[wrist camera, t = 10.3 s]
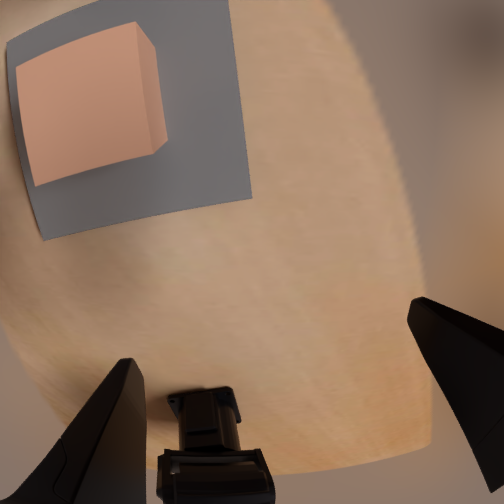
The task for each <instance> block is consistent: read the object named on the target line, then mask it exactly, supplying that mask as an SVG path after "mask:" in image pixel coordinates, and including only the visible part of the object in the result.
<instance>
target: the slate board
mask: <svg viewBox="0 0 504 504" xmlns="http://www.w3.org/2000/svg"><path fill="white" fill-rule="evenodd" d="M135 21H136V23H137V24H138V25H139V27H140V28H141V29H142V31H143V32H144V33H145V35H146V36H147V37H148V39H149V40H150V41H151V43H152V44H153V45H154V47H155V51H156V59H157V68H158V76H159V84H160V91H161V98H162V105H163V112H164V119H165V125H166V131H167V138H168V140H167V141H166V142H165V143H164V144H163V145H162V146H161V147H160V148H159V149H158V150H157V151H156V152H155V153H154V154H151V155H146V156H141V157H137V158H133V159H129V160H124V161H120V162H116V163H112V164H108V165H105V166H101V167H97V168H94V169H90V170H86V171H83V172H80V173H76V174H73V175H69V176H66V177H63V178H60V179H57V180H54V181H50V182H47V183H44V184H41V185H39V186H36V187H35V184H34V180H33V176H32V172H31V167H30V163H29V159H28V154H27V149H26V144H25V139H24V133H23V127H22V121H21V114H20V107H19V98H18V89H17V77H16V67H17V66H19V65H21V64H23V63H25V62H27V61H29V60H31V59H33V58H35V57H37V56H39V55H42V54H44V53H46V52H48V51H50V50H53V49H55V48H57V47H60V46H62V45H65V44H67V43H70V42H72V41H75V40H77V39H80V38H83V37H86V36H88V35H91V34H94V33H97V32H100V31H103V30H107V29H110V28H113V27H117V26H120V25H124V24H127V23H131V22H135ZM7 70H8V84H9V95H10V104H11V112H12V119H13V125H14V131H15V137H16V142H17V147H18V152H19V157H20V162H21V166H22V170H23V174H24V178H25V182H26V186H27V190H28V193H29V197H30V200H31V204H32V207H33V210H34V214H35V217H36V220H37V223H38V226H39V229H40V232H41V235H42V237H43V240H44V241H46V240H50V239H54V238H58V237H62V236H66V235H70V234H74V233H78V232H82V231H87V230H91V229H95V228H100V227H104V226H108V225H113V224H118V223H122V222H127V221H132V220H136V219H141V218H146V217H151V216H156V215H161V214H166V213H171V212H177V211H182V210H187V209H193V208H198V207H204V206H210V205H216V204H221V203H227V202H233V201H240V200H246V199H252V191H251V183H250V174H249V166H248V157H247V149H246V141H245V132H244V124H243V116H242V108H241V100H240V91H239V83H238V75H237V67H236V59H235V51H234V43H233V35H232V28H231V20H230V12H229V4H228V0H99V1H96V2H93V3H90V4H88V5H85V6H82V7H79V8H77V9H74V10H72V11H69V12H67V13H64V14H62V15H60V16H57V17H55V18H53V19H51V20H49V21H46V22H44V23H42V24H40V25H38V26H36V27H34V28H32V29H30V30H28V31H26V32H24V33H23V34H21V35H19V36H17V37H15V38H13V39H12V40H10V41H8V42H7Z"/></svg>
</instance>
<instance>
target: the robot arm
mask: <svg viewBox="0 0 504 504" xmlns="http://www.w3.org/2000/svg"><path fill="white" fill-rule="evenodd" d="M407 322H408V326H409V328H410V330H411V332H412V334H413V336H414V338H415V340H416V342H417V345H418V347H419V349H420V351H421V353H422V355H423V357H424V359H425V361H426V363H427V365H428V367H429V368H430V370H431V372H432V374H433V375H434V377H435V379H436V381H437V382H438V384H439V386H440V388H441V390H442V391H443V393H444V395H445V397H446V399H447V401H448V403H449V405H450V406H451V408H452V410H453V412H454V414H455V416H456V418H457V420H458V422H459V424H460V426H461V428H462V430H463V432H464V434H465V436H466V438H467V440H468V443H469V445H470V447H471V449H472V451H473V454H474V456H475V458H476V460H477V462H478V465H479V467H480V469H481V472H482V474H483V476H484V479H485V481H486V484H487V486H488V489H489V491H490V492H491V493H493V492H494V491H496V490H497V489H498V488H500V487H501V486H503V485H504V331H503V330H501V329H499V328H496V327H494V326H492V325H489V324H487V323H485V322H482V321H480V320H478V319H476V318H473V317H471V316H469V315H466V314H464V313H461V312H459V311H457V310H454V309H452V308H450V307H447V306H445V305H442V304H440V303H437V302H435V301H433V300H430V299H428V298H425V297H418V298H415V299H413V300H412V301H411V304H410V308H409V313H408V317H407ZM167 402H168V404H169V405H170V407H171V409H172V411H173V412H174V414H175V416H176V417H177V419H178V421H179V450H170V449H164V454H163V455H160V456H158V472H157V489H156V494H157V496H158V497H159V498H160V499H161V500H162V501H163V504H275V486H274V482H273V479H272V476H271V474H270V472H269V469H268V467H267V464H266V462H265V459H264V457H263V454H262V451H261V449H260V448H259V449H254V450H241V448H240V442H239V436H238V431H237V425H236V424H238V423H240V422H241V416H240V413H239V409H238V406H237V402H236V399H235V395H234V392H233V389H232V388H222V389H216V390H209V391H202V392H195V393H187V394H178V395H170V396H168V397H167ZM146 432H147V422H146V407H145V390H144V378H143V375H142V373H141V371H140V369H139V368H138V366H137V364H136V362H135V360H134V359H133V358H123V359H120V360H119V361H118V362H117V363H116V365H115V366H114V367H113V368H112V370H111V371H110V372H109V374H108V375H107V376H106V377H105V379H104V380H103V381H102V383H101V384H100V385H99V386H98V388H97V389H96V390H95V392H94V393H93V394H92V396H91V397H90V398H89V399H88V401H87V402H86V403H85V405H84V406H83V407H82V409H81V410H80V411H79V413H78V414H77V415H76V417H75V418H74V419H73V421H72V422H71V423H70V425H69V426H68V427H67V429H66V430H65V432H64V433H63V434H62V435H61V438H59V439H58V441H57V442H56V444H55V445H54V446H53V448H52V449H51V450H50V451H49V453H48V454H47V455H46V457H45V458H44V459H43V460H42V462H41V463H40V464H39V465H38V466H37V467H36V469H35V470H34V471H33V472H32V473H31V474H30V475H29V476H28V478H27V479H26V480H25V481H24V482H23V483H22V484H21V486H20V487H19V488H18V489H17V490H16V491H15V492H14V493H13V494H12V495H10V496H9V497H7V498H6V499H3V500H0V504H146ZM172 473H175V474H172Z"/></svg>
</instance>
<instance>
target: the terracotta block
mask: <svg viewBox="0 0 504 504" xmlns="http://www.w3.org/2000/svg"><path fill="white" fill-rule="evenodd" d="M16 77H17V89H18V98H19V107H20V114H21V121H22V127H23V133H24V139H25V144H26V149H27V154H28V159H29V163H30V167H31V172H32V176H33V180H34V184H35V187H36V186H39V185H41V184H44V183H47V182H50V181H54V180H57V179H60V178H63V177H66V176H69V175H73V174H76V173H80V172H83V171H86V170H90V169H94V168H97V167H101V166H105V165H108V164H112V163H116V162H120V161H124V160H129V159H133V158H137V157H141V156H146V155H151V154H154V153H155V152H156V151H157V150H158V149H159V148H160V147H161V146H162V145H163V144H164V143H165V142H166V141H167V140H168V138H167V131H166V125H165V119H164V112H163V105H162V98H161V91H160V84H159V76H158V68H157V59H156V51H155V47H154V45H153V44H152V43H151V41H150V40H149V39H148V37H147V36H146V35H145V33H144V32H143V31H142V29H141V28H140V27H139V25H138V24H137V23H136V21H135V22H131V23H127V24H124V25H120V26H117V27H113V28H110V29H107V30H103V31H100V32H97V33H94V34H91V35H88V36H86V37H83V38H80V39H77V40H75V41H72V42H70V43H67V44H65V45H62V46H60V47H57V48H55V49H53V50H50V51H48V52H46V53H44V54H42V55H39V56H37V57H35V58H33V59H31V60H29V61H27V62H25V63H23V64H21V65H19V66H17V67H16Z"/></svg>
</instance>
